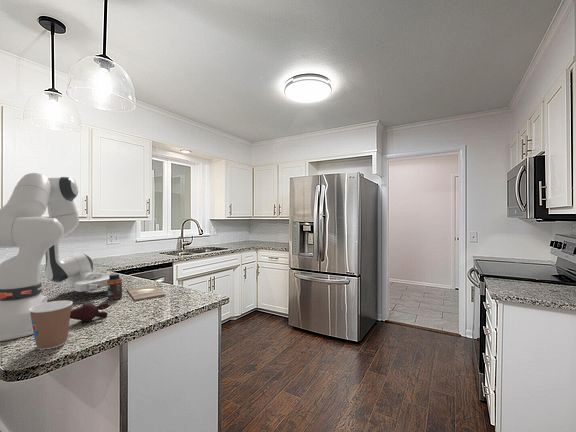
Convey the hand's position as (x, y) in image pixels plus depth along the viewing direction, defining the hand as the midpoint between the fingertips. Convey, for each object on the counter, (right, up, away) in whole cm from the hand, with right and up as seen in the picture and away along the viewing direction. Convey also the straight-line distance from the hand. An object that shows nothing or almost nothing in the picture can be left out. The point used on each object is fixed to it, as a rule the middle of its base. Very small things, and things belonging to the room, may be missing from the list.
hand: (108, 284), depth 135 cm
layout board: (+15, -6, +6) cm, 17 cm away
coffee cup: (+14, -7, -49) cm, 51 cm away
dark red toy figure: (+11, -7, -31) cm, 33 cm away
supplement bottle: (+5, -6, -2) cm, 8 cm away
